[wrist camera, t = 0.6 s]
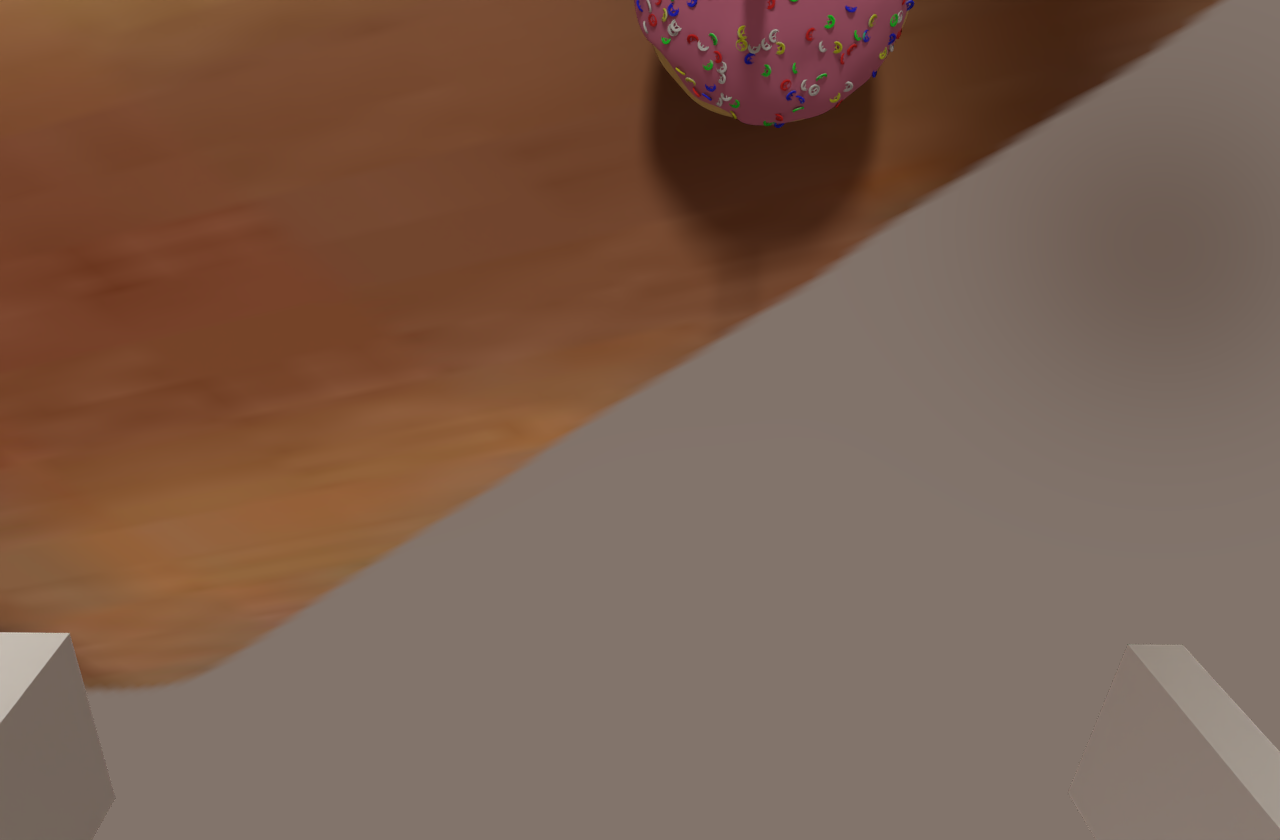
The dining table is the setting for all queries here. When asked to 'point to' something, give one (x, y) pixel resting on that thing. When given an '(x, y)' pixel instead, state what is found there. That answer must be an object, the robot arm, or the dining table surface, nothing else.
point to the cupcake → (771, 51)
